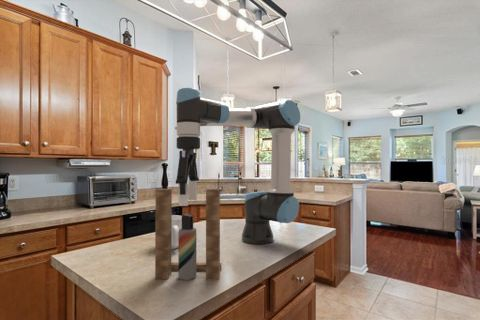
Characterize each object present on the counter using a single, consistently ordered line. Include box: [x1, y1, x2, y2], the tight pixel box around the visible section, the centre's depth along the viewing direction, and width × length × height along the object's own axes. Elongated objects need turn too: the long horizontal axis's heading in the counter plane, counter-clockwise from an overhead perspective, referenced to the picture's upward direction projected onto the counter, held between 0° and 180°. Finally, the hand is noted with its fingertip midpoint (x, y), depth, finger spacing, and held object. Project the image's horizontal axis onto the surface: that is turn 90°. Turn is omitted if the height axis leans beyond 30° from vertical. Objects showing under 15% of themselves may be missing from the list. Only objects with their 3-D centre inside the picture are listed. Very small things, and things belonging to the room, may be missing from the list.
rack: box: [154, 188, 222, 281], centre depth 88 cm, size 20×9×28 cm, turn 89°
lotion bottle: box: [177, 213, 197, 281], centre depth 86 cm, size 6×6×20 cm
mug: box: [172, 214, 183, 250], centre depth 115 cm, size 15×11×13 cm
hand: (188, 202), depth 86 cm, fingers open, 13 cm apart
